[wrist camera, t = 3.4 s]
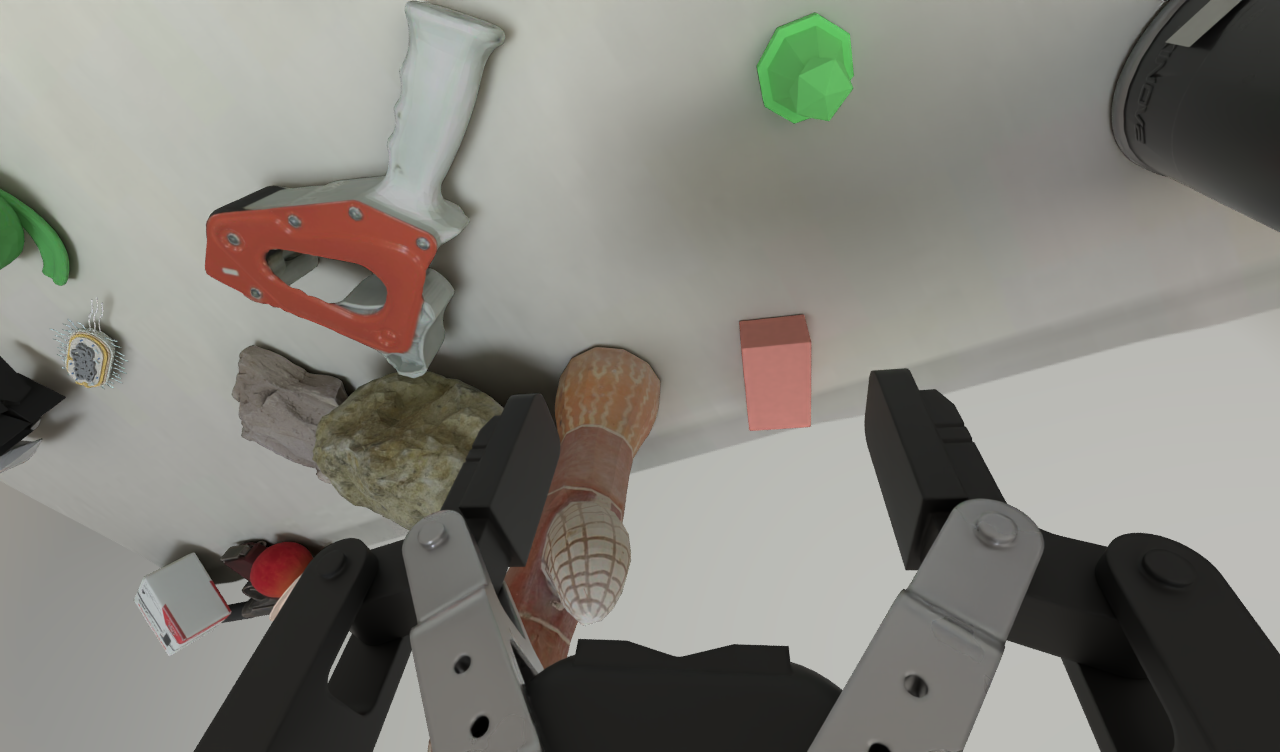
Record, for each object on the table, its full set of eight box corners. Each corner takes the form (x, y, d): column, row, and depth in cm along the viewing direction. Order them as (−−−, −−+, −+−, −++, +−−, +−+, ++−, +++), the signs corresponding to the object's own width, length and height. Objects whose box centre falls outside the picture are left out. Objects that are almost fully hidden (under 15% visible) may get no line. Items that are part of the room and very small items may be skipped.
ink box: (181, 643, 55) (168, 658, 62) (233, 612, 59) (216, 629, 66) (139, 577, 56) (131, 599, 63) (194, 550, 60) (181, 574, 67)
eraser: (804, 314, 32) (811, 342, 30) (804, 397, 36) (810, 427, 34) (739, 321, 33) (741, 348, 30) (746, 401, 37) (749, 431, 35)
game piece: (748, 116, 25) (756, 153, 21) (765, 9, 22) (779, 23, 18) (836, 122, 25) (864, 161, 20) (865, 15, 22) (905, 31, 18)
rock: (522, 621, 42) (665, 542, 37) (261, 630, 28) (437, 502, 23) (496, 460, 51) (609, 379, 46) (287, 403, 37) (418, 275, 32)
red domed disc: (302, 611, 59) (256, 578, 59) (349, 551, 60) (305, 519, 60) (258, 633, 51) (205, 595, 51) (314, 563, 52) (263, 526, 53)
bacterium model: (38, 280, 34) (127, 320, 36) (61, 266, 36) (145, 305, 38) (39, 377, 41) (115, 405, 43) (58, 362, 42) (131, 390, 44)
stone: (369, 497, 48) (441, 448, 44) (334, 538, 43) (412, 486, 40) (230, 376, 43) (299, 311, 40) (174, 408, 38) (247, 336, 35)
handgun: (150, 564, 67) (248, 619, 74) (130, 585, 64) (233, 639, 72) (259, 534, 57) (359, 601, 65) (240, 557, 55) (346, 623, 63)
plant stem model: (638, 328, 34) (481, 1129, 11) (686, 403, 38) (646, 1114, 15) (513, 378, 38) (207, 1038, 15) (568, 441, 42) (392, 1046, 19)
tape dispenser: (501, -22, 24) (165, 96, 28) (464, -28, 20) (72, 112, 24) (608, 305, 34) (348, 359, 38) (598, 348, 29) (306, 404, 33)
